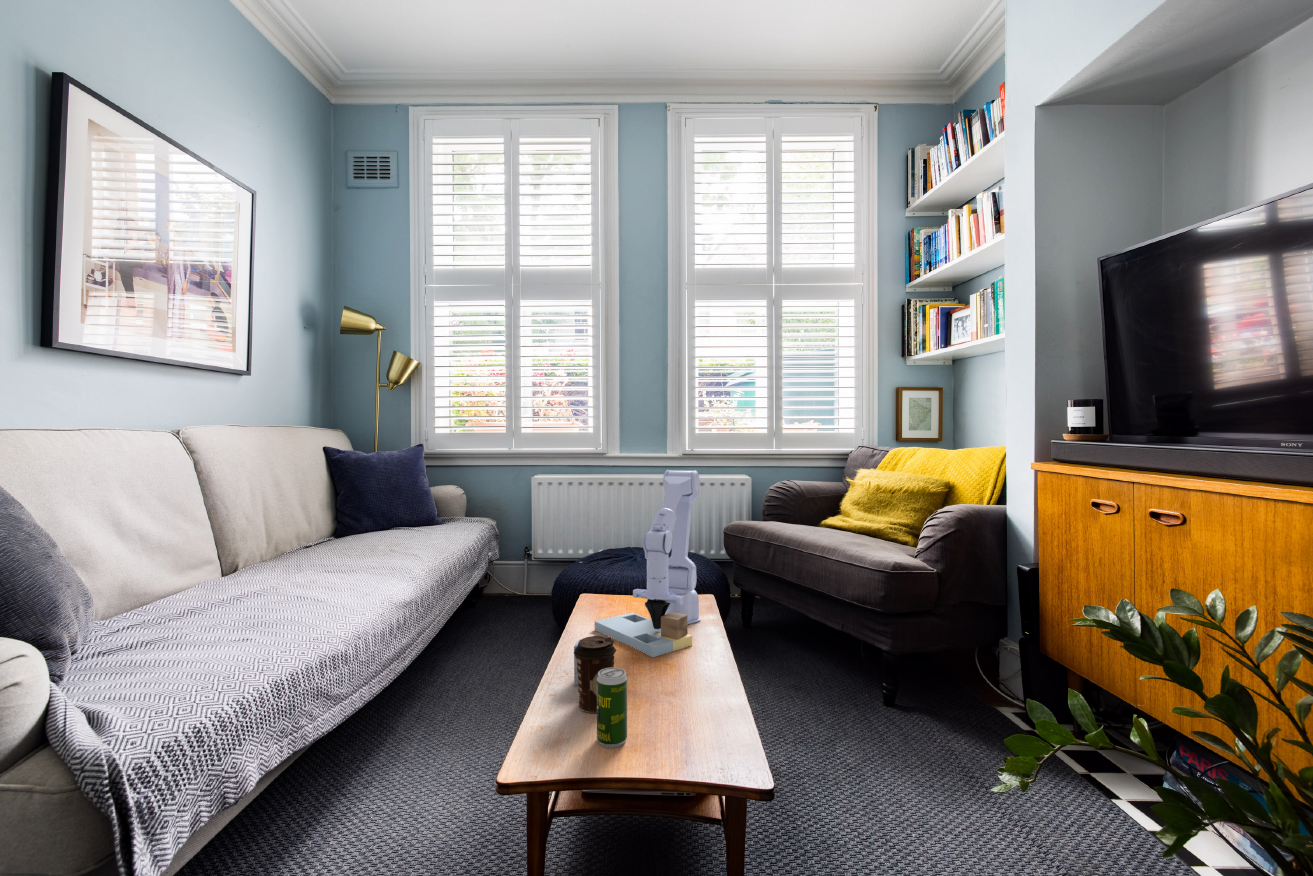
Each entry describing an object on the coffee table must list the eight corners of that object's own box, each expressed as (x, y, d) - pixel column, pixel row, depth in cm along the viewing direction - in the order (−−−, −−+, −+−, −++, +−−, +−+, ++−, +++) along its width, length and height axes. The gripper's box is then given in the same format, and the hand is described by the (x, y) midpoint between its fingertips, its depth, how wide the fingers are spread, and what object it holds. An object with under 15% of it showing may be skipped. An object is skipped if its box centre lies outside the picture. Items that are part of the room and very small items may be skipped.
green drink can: (611, 730, 107) (611, 664, 107) (633, 739, 103) (633, 672, 103) (590, 741, 103) (590, 673, 103) (612, 752, 99) (612, 681, 99)
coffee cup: (624, 701, 118) (624, 637, 118) (604, 720, 111) (604, 651, 111) (587, 694, 122) (587, 631, 122) (565, 711, 114) (565, 644, 114)
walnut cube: (671, 630, 154) (671, 611, 154) (687, 634, 152) (687, 615, 152) (660, 636, 150) (660, 616, 150) (677, 639, 147) (677, 620, 147)
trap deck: (632, 620, 171) (632, 612, 171) (692, 645, 150) (692, 635, 150) (594, 630, 162) (594, 621, 162) (652, 657, 142) (652, 647, 142)
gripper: (626, 576, 154) (626, 627, 154) (673, 583, 146) (673, 637, 147) (641, 570, 160) (641, 620, 160) (687, 577, 152) (687, 629, 152)
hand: (657, 628), depth 154 cm, fingers closed
